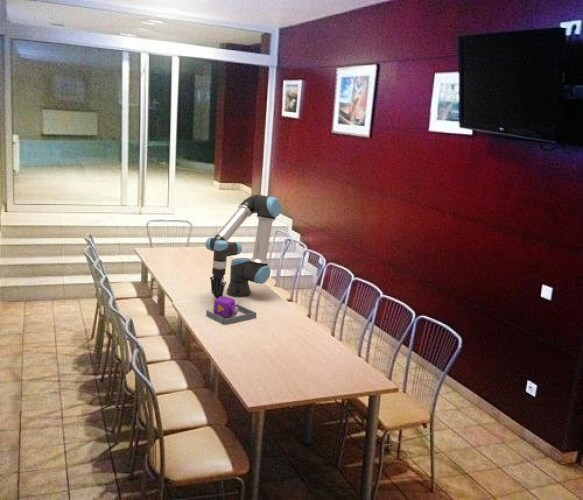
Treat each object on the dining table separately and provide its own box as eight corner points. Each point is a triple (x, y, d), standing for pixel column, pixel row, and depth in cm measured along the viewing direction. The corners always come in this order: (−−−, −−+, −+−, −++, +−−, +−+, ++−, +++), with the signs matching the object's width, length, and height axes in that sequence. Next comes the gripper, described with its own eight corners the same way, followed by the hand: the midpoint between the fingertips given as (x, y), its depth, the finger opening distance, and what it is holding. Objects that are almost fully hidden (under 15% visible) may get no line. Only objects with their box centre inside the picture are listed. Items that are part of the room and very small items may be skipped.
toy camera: (234, 320, 332) (236, 303, 330) (211, 315, 334) (213, 299, 332) (240, 314, 342) (242, 298, 340) (217, 309, 345) (219, 293, 342)
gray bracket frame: (236, 309, 351) (237, 303, 350) (256, 317, 338) (256, 311, 337) (205, 315, 335) (205, 309, 335) (224, 324, 323) (224, 318, 322)
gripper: (207, 265, 342) (204, 304, 347) (220, 271, 333) (217, 311, 338) (218, 264, 347) (214, 302, 352) (231, 269, 338) (227, 309, 343)
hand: (215, 306), depth 345 cm, fingers closed
